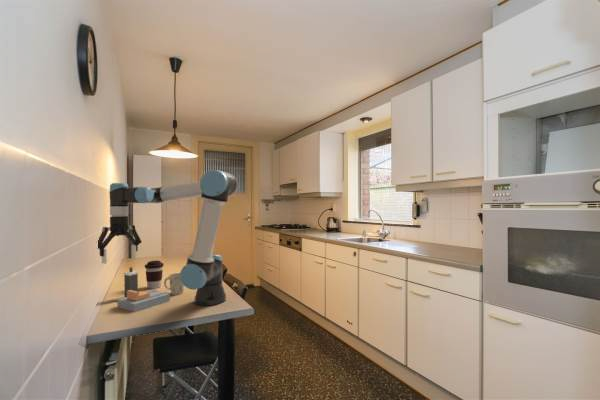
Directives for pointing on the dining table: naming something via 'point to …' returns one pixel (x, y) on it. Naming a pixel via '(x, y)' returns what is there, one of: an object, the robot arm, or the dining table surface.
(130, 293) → the block
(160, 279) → the coffee cup
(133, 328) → the dining table surface
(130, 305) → the socket plate
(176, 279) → the mug
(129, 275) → the plug
